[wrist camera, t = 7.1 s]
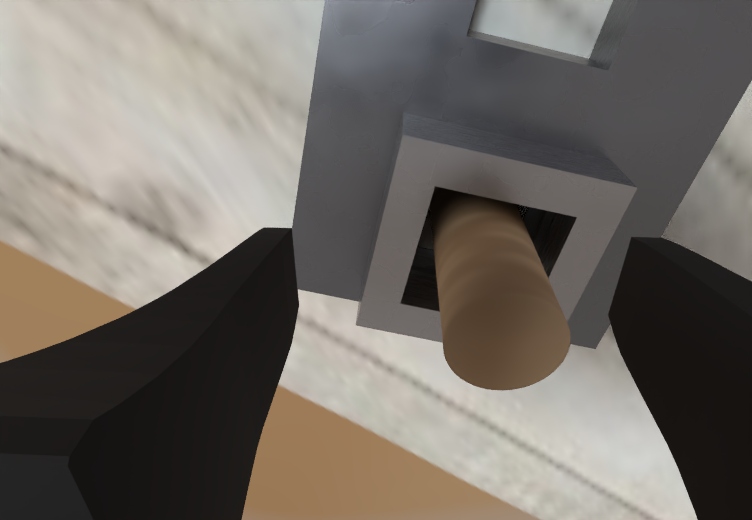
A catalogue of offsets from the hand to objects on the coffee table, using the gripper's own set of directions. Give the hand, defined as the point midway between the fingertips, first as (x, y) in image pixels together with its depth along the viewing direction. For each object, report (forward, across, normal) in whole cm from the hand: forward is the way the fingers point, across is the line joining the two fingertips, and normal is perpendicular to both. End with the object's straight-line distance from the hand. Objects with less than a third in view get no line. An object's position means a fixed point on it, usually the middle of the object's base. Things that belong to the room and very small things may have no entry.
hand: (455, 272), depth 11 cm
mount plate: (+10, -3, -1) cm, 11 cm away
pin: (+10, -2, +3) cm, 11 cm away
